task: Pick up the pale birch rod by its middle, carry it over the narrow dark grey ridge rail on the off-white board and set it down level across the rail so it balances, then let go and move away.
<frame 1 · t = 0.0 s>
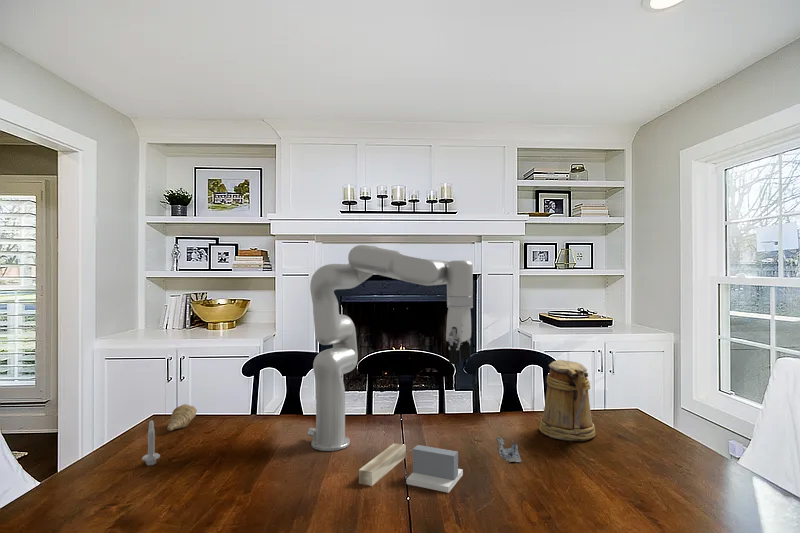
hand: (460, 361, 139), 31 cm above the table, tool pointing down, fingers open, 9 cm apart
ridge: (435, 479, 131), on the table
seashell: (179, 429, 174), on the table
rod: (383, 470, 138), on the table
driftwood: (509, 452, 152), on the table
screw: (151, 464, 142), on the table
tankard: (569, 435, 166), on the table
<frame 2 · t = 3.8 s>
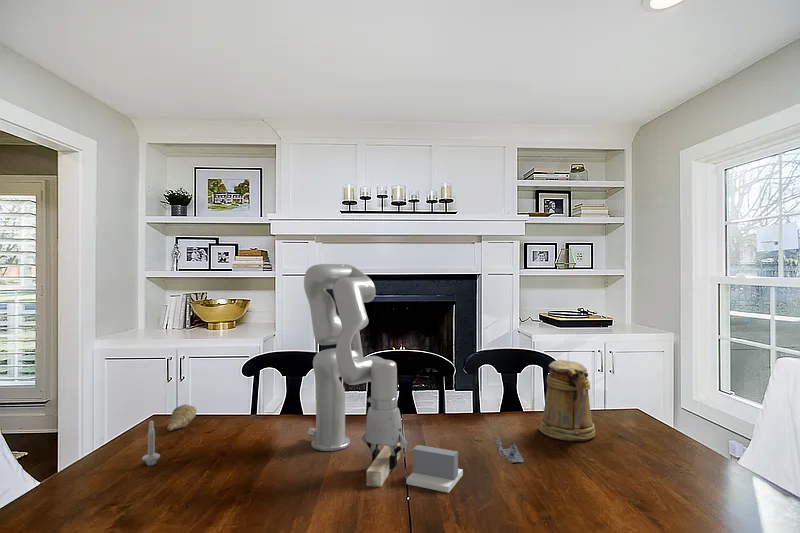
hand: (384, 465, 138), 1 cm above the table, tool pointing down, fingers closed on rod, 4 cm apart
rod: (384, 469, 138), on the table, touching gripper
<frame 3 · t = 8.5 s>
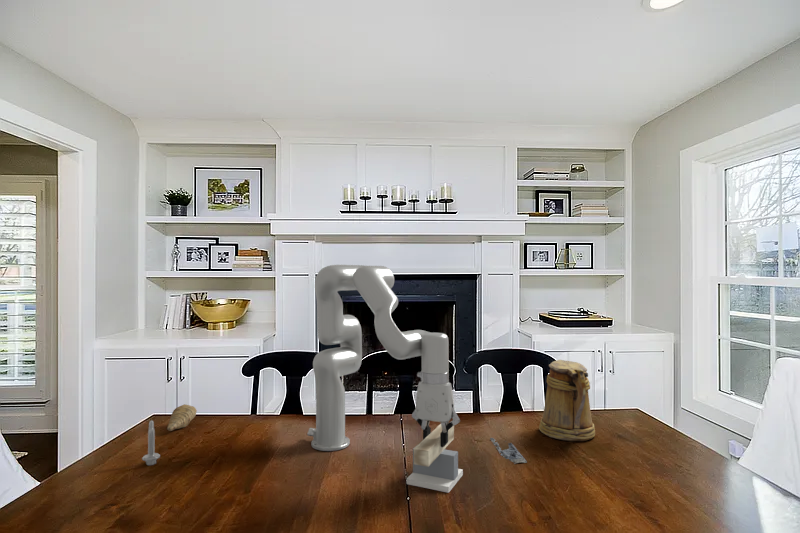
hand: (435, 443, 131), 10 cm above the table, tool pointing down, fingers closed on rod, 4 cm apart
rod: (435, 450, 131), point 8 cm above the table, touching gripper
when the fingers open (10 cm above the table, at t = 8.7 s): rod stays where it is, resting on ridge.
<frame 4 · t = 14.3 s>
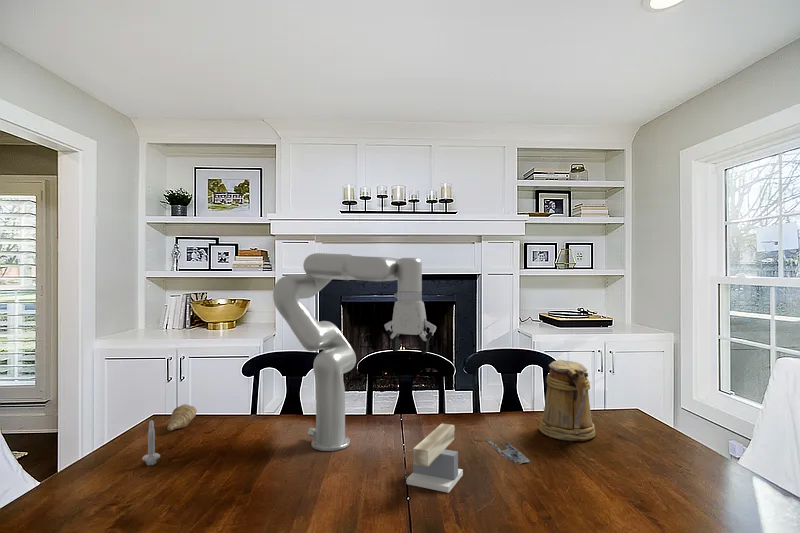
hand: (409, 352, 148), 32 cm above the table, tool pointing down, fingers open, 9 cm apart
rod: (435, 450, 131), point 8 cm above the table, touching ridge
at the end: rod inside the target area on the ridge (0.2 cm from its centre), point 8.0 cm above the ridge's base; rod tilted 0°; rod touching ridge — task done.
